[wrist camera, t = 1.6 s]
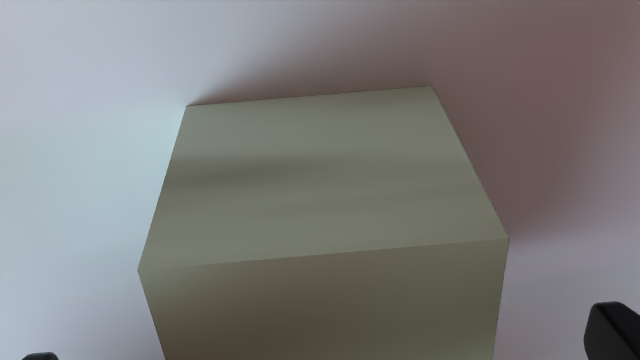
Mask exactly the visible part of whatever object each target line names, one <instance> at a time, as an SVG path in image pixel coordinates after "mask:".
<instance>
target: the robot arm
mask: <svg viewBox="0 0 640 360" xmlns="http://www.w3.org/2000/svg"><path fill="white" fill-rule="evenodd" d="M584 347H585V351H586V354H587V357H588V359H589V360H640V315H639V314H637V313H636V312H634V311H633V310H631V309H630V308H629V307H627V306H626V305H624V304H622V303H620V302H616V301H613V302H602V303H596V304H594V305H593V306H592V308H591V311H590V314H589V318H588V322H587V326H586V330H585V334H584ZM22 360H58V358H57V356H56V355H55V354H54V353H52V352H45V353H34V354H29V355H27V356H26V357H24V358H23V359H22Z"/></svg>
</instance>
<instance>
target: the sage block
mask: <svg viewBox="0 0 640 360" xmlns="http://www.w3.org/2000/svg"><path fill="white" fill-rule="evenodd" d="M508 243H509V237H508V235H507V233H506V231H505V229H504V227H503V225H502V223H501V221H500V219H499V217H498V215H497V213H496V211H495V209H494V207H493V205H492V203H491V201H490V199H489V197H488V195H487V193H486V192H485V190H484V188H483V186H482V184H481V182H480V180H479V178H478V176H477V174H476V172H475V170H474V168H473V166H472V164H471V162H470V160H469V158H468V156H467V154H466V152H465V150H464V148H463V146H462V144H461V142H460V140H459V138H458V136H457V134H456V132H455V130H454V128H453V126H452V124H451V122H450V120H449V118H448V116H447V114H446V112H445V110H444V108H443V106H442V105H441V103H440V101H439V99H438V97H437V95H436V93H435V91H434V89H433V87H432V85H430V86H419V87H407V88H395V89H383V90H371V91H359V92H348V93H336V94H324V95H312V96H300V97H288V98H277V99H265V100H253V101H241V102H229V103H217V104H206V105H194V106H186V109H185V112H184V115H183V119H182V122H181V126H180V129H179V132H178V136H177V139H176V142H175V146H174V149H173V152H172V156H171V159H170V163H169V166H168V169H167V173H166V176H165V179H164V183H163V186H162V189H161V193H160V196H159V200H158V203H157V206H156V210H155V213H154V216H153V220H152V223H151V226H150V230H149V233H148V237H147V240H146V243H145V247H144V250H143V253H142V257H141V260H140V263H139V267H138V274H139V277H140V280H141V283H142V286H143V289H144V293H145V296H146V299H147V302H148V305H149V308H150V312H151V315H152V318H153V321H154V324H155V328H156V331H157V334H158V337H159V340H160V343H161V347H162V350H163V353H164V356H165V359H166V360H492V356H493V349H494V342H495V335H496V327H497V320H498V313H499V306H500V299H501V292H502V285H503V278H504V271H505V264H506V257H507V250H508Z"/></svg>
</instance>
